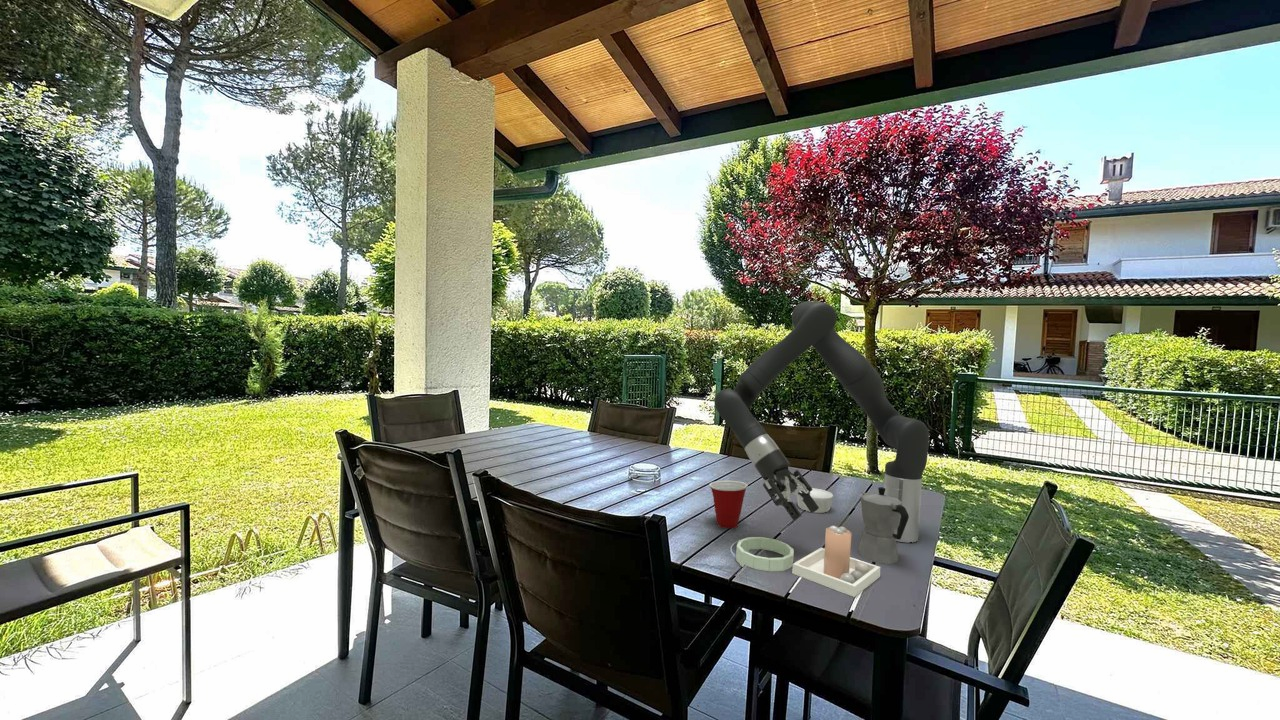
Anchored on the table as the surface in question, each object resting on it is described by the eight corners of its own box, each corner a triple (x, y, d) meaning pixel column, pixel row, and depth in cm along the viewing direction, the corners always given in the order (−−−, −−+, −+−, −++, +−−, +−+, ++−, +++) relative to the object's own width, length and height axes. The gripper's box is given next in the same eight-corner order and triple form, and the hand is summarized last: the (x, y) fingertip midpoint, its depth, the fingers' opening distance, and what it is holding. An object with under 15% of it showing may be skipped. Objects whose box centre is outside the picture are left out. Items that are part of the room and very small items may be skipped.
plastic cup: (719, 515, 156) (721, 476, 156) (752, 524, 149) (754, 483, 149) (700, 524, 148) (701, 483, 147) (733, 535, 141) (735, 491, 140)
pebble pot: (823, 567, 121) (826, 521, 120) (848, 572, 119) (851, 525, 118) (823, 577, 116) (825, 529, 115) (849, 582, 114) (852, 533, 113)
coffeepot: (844, 549, 134) (848, 480, 133) (875, 547, 136) (879, 479, 135) (886, 576, 119) (891, 499, 118) (920, 573, 121) (925, 497, 121)
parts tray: (820, 559, 127) (821, 544, 127) (879, 580, 117) (880, 563, 117) (792, 576, 117) (792, 560, 117) (854, 600, 107) (855, 582, 107)
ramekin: (789, 503, 171) (790, 487, 171) (822, 503, 172) (823, 487, 172) (804, 514, 160) (805, 497, 160) (838, 514, 161) (839, 498, 161)
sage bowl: (741, 547, 133) (742, 533, 133) (794, 556, 128) (795, 542, 128) (732, 567, 121) (733, 553, 120) (790, 578, 116) (791, 563, 116)
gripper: (760, 451, 123) (803, 512, 115) (791, 444, 133) (832, 500, 125) (740, 469, 127) (780, 529, 119) (771, 461, 137) (810, 516, 129)
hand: (807, 514), depth 122 cm, fingers open, 8 cm apart
